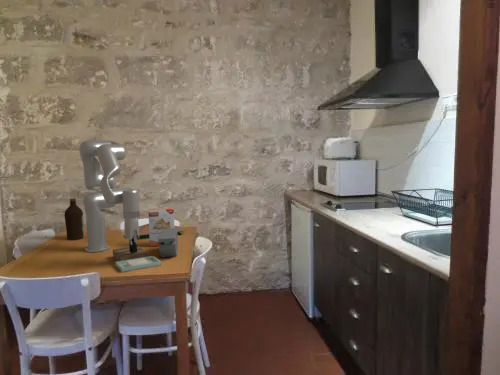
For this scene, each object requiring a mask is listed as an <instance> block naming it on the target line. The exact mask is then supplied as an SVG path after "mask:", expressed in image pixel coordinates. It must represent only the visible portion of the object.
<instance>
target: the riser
mask: <svg viewBox="0 0 500 375" xmlns="http://www.w3.org/2000/svg"><path fill="white" fill-rule="evenodd" d="M148 256H149V255H148V251H146V250H145V249H143V248H142V247H141V246H140V245H137V252H135V253H130V249H129V246H127V247H121V248H115V249H112V258H113V259H114V260H116V261H115V262H117V261H124V260H130V259H136V258H142V257H148Z"/></svg>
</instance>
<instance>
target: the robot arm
mask: <svg viewBox="0 0 500 375" xmlns="http://www.w3.org/2000/svg"><path fill="white" fill-rule="evenodd" d="M79 156H80V159H81V162H82V165H83V166H82V167H83V178H84V180H83V181H84V186H85V188H86V189H87V190H90V191H93V192H89V193H86V194H85V195H84V196H83V199H82V204H83V208H84V212H85V219H86V221H85V222H86V234H87V235H86V236H87V246H86V247H85V248H84V251H85V252H87V253H97V252H98V253H99V252H103V251H104V252H105V251H107V250H109V249H110V245H109V244H107V232H106V231H107V230H106V219H105V218H106V217H105V215H104V214H103V212H102V210H104V209H111V208H114V207H116V205H119V204H120V205H121V204H122V216H123V217H122V218H123V220H124V227H123V228H124V237H125V238H126V239H127V240H128V243H129V246H128V247H129V249H130V253H135V252H137V246H138V240H139V239H140V235H139V226H140V225H139V218H140V216H141V214H140V199H139V198H140V194H139V190H138V189H135V188H131V187H120V188H119V187H118V188H117V185H116V178H115V177H117V176H118V175H119V174H120V173H121V172H122V168H121V165H120V163H119V161H123V160H125V158H126V156H127V152H126V149H125V147H124V146H123V145H122V144H121V143H119V142H117V141H114V140H109V139H107V140H106V139H104V140H103V139H91V140H90V139H89V140H84V141H82V142H81V143H80V145H79ZM96 157H97V158H96ZM101 168H102V169H101ZM95 190H96V191H95ZM97 190H98V191H97ZM99 190H100V191H99ZM94 191H95V192H94Z"/></svg>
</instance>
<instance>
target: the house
mask: <svg viewBox="0 0 500 375" xmlns="http://www.w3.org/2000/svg"><path fill="white" fill-rule="evenodd" d="M174 228H178V232H177V235H178V236H179V235H180V234H184V231H185V229H184V228H182V227H181V226H180V225H179V226H178V225H175V224H174ZM180 232H181V233H180ZM139 236H141V237H144V238H145V239H148V237H149V223H145V224H143V225H139Z"/></svg>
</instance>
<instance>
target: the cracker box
mask: <svg viewBox="0 0 500 375" xmlns="http://www.w3.org/2000/svg"><path fill="white" fill-rule="evenodd" d="M174 210H175V208H174V207H164V208H163V207H161V208H149V209H148V224H149V234H148V239H149V247H151V248H152V247H159V244H160V242H159V237H160V235H161V232H162V230H163V229H170V228H174V225H175V211H174Z"/></svg>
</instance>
